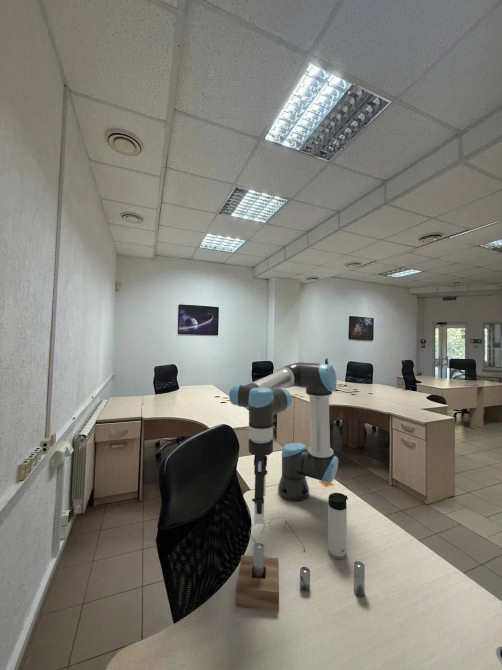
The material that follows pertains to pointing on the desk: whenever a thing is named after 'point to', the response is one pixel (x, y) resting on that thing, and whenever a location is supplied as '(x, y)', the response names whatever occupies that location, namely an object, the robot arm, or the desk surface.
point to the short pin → (305, 579)
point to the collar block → (258, 584)
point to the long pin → (259, 560)
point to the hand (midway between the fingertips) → (260, 508)
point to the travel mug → (337, 525)
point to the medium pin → (359, 578)
